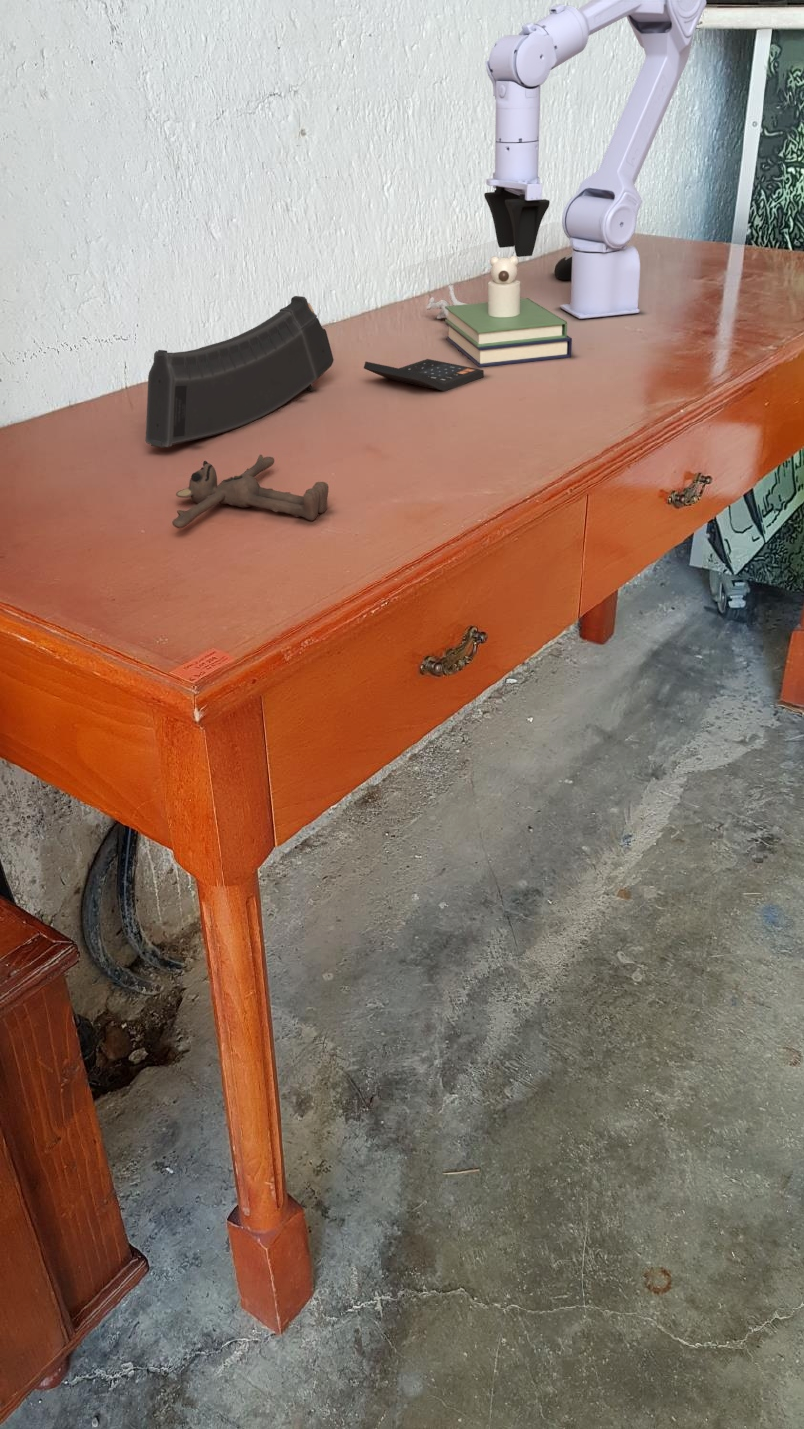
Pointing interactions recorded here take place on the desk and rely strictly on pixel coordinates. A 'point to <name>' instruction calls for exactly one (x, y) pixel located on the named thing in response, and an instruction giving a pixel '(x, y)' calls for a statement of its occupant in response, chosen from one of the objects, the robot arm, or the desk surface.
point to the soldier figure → (444, 303)
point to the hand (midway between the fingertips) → (515, 251)
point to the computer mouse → (564, 268)
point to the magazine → (235, 377)
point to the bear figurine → (247, 494)
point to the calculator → (428, 374)
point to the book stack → (507, 334)
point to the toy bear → (504, 288)
